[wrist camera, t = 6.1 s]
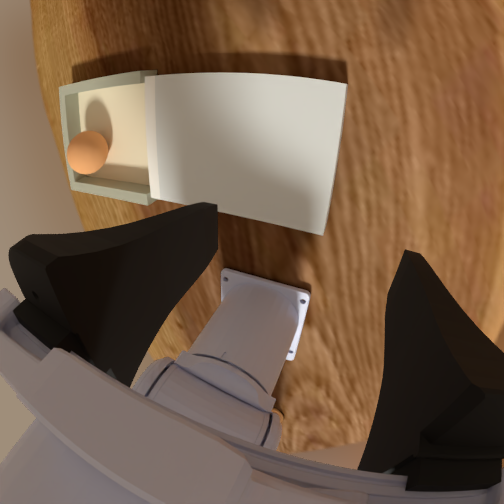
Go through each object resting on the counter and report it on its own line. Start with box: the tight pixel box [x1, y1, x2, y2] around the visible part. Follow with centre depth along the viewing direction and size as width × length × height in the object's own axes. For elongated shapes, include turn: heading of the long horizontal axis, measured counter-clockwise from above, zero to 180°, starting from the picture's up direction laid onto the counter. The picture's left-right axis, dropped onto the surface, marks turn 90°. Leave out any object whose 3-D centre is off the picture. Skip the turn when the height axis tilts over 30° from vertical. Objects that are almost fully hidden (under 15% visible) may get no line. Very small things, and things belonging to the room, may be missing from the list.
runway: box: [145, 73, 348, 236], centre depth 19 cm, size 10×14×2 cm
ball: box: [67, 131, 108, 174], centre depth 22 cm, size 4×4×4 cm
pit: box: [59, 70, 157, 205], centre depth 22 cm, size 11×11×2 cm
